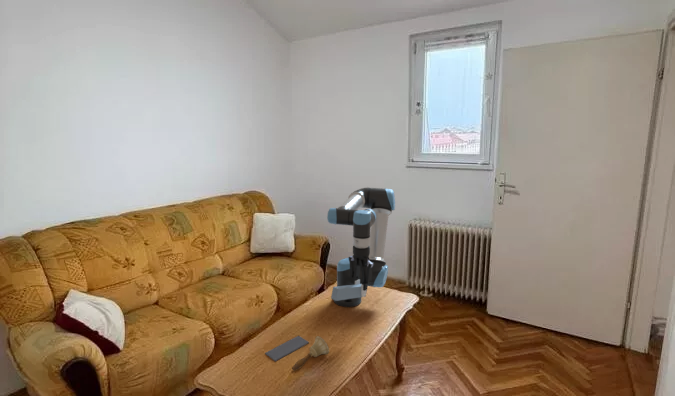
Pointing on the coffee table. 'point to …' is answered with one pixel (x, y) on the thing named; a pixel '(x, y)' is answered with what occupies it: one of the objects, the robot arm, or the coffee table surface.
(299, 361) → the hand bell
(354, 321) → the coffee table surface
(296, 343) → the mat
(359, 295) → the stick
